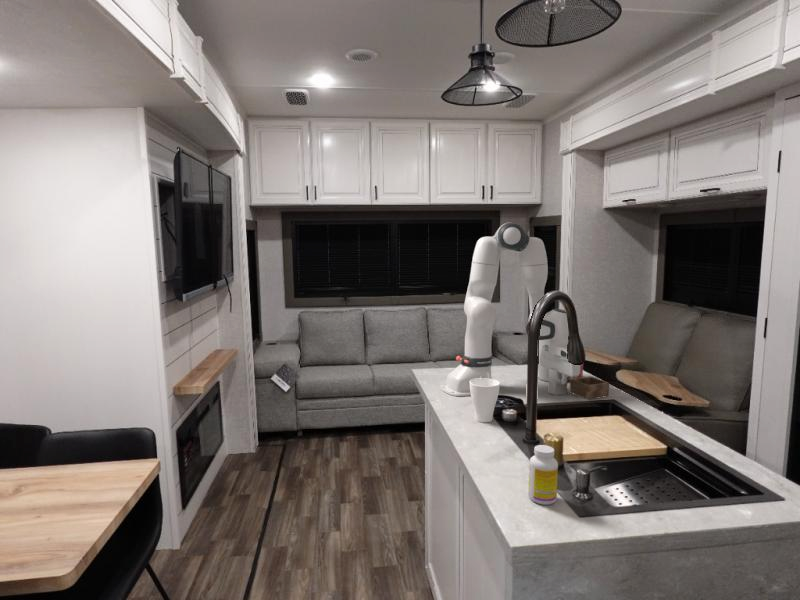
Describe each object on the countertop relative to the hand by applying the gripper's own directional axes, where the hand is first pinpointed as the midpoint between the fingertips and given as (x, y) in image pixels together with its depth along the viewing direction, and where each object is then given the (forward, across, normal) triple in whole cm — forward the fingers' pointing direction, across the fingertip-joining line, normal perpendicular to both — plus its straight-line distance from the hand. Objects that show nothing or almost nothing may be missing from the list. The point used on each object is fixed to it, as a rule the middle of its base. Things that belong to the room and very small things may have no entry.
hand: (557, 381), depth 205 cm
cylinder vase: (+5, -18, +12) cm, 22 cm away
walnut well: (+5, +6, +11) cm, 14 cm away
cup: (+5, +13, -45) cm, 47 cm away
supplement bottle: (+5, +64, -62) cm, 89 cm away
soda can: (+5, -12, +20) cm, 24 cm away
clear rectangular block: (+5, 0, 0) cm, 5 cm away
